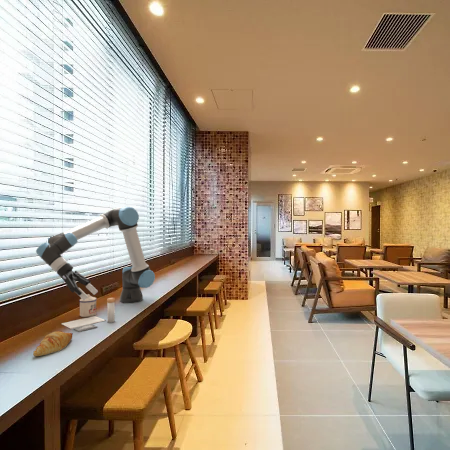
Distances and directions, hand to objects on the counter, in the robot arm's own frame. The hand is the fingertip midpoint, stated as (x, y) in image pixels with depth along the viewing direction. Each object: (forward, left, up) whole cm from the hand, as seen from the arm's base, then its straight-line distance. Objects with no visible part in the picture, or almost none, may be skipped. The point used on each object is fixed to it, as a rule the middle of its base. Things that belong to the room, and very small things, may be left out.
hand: (91, 295), depth 165 cm
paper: (+3, -3, -14) cm, 15 cm away
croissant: (+27, +23, -14) cm, 38 cm away
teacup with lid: (-6, -16, -14) cm, 22 cm away
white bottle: (-7, +7, -14) cm, 17 cm away
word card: (+7, +8, -14) cm, 17 cm away
